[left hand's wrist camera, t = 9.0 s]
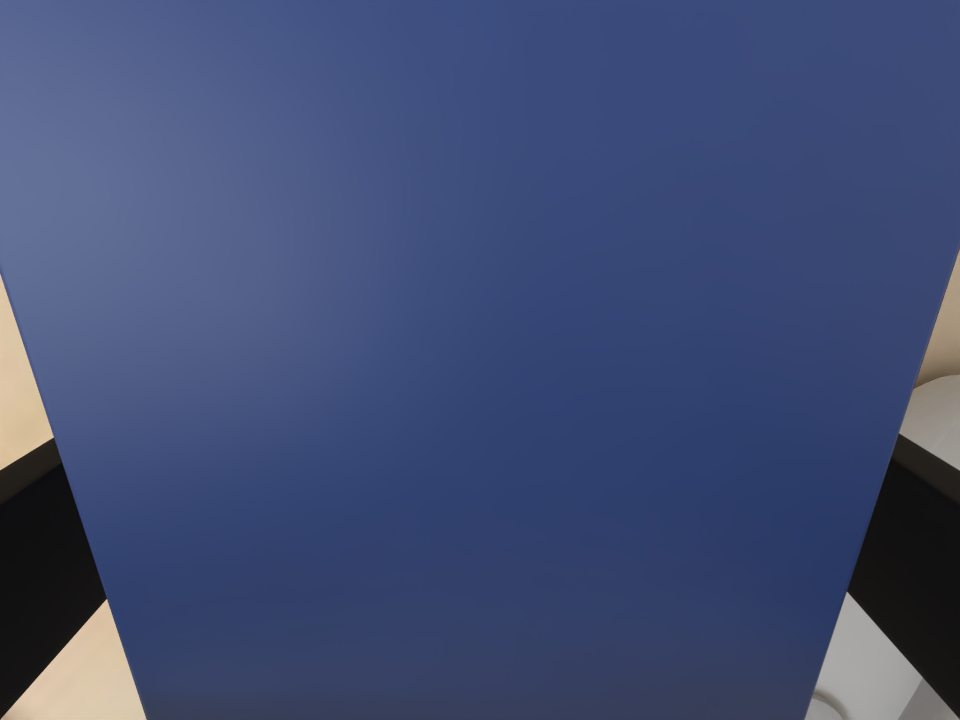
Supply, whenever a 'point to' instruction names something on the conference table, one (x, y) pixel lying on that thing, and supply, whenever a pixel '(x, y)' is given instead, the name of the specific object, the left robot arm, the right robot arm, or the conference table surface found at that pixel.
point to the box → (477, 336)
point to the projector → (856, 638)
